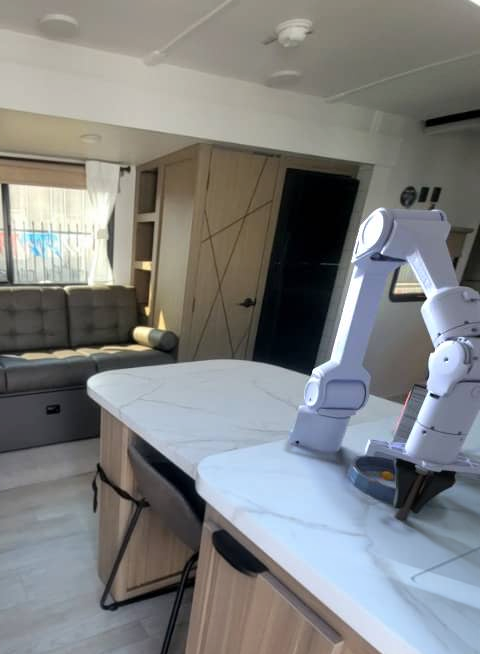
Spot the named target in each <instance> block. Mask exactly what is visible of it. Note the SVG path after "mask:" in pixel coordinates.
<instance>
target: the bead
mask: <svg viewBox="0 0 480 654" xmlns="http://www.w3.org/2000/svg"><path fill="white" fill-rule="evenodd" d="M379 478H381V479H383V480H385V481H393V479H394V475H392V474H391V473H390V472H387V471H384V472H380V474H379Z"/></svg>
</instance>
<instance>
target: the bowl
mask: <svg viewBox="0 0 480 654" xmlns="http://www.w3.org/2000/svg"><path fill="white" fill-rule="evenodd" d="M415 467H416V469H420V470H422V469H421V468H419V467H417V465H415ZM384 471H387V472H390V473H391V474H392V475H393V477H396V475H395V466H394V460H393V459H388V458H384V457H380V456H375V455H374V456H373V457H372V456H367V455H364V454H363V455H357V456H356V457H354V458H353V459H351V461H350V464H349V465H348V469H347V472H346V474H347V475H346V476H347V477H346V478H347V480H348V481H349V482H350V484H351V485H352V486H354V487H355V488H356V489H358V490H359V491H361V492H362V493H364V494H366V495H368V496H371V497H372V498H375V499H377V500H379V501H382V502H385V503H389V504H393V505H394V503H393V500H394V496H395V489H396V487H394V486H389V485H386V484H384V483H381V482H380V481H379V482H380V483H379V482H377V481H374V480H375V479H372V478H371V477H369V476H367V475H366V474H364V473H363V472H378V473H382V472H384ZM432 500H433V499H431V500H430V501H429V502H428V503H427V504H426V505H425V506H427V505H428V504H430V502H432Z"/></svg>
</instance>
